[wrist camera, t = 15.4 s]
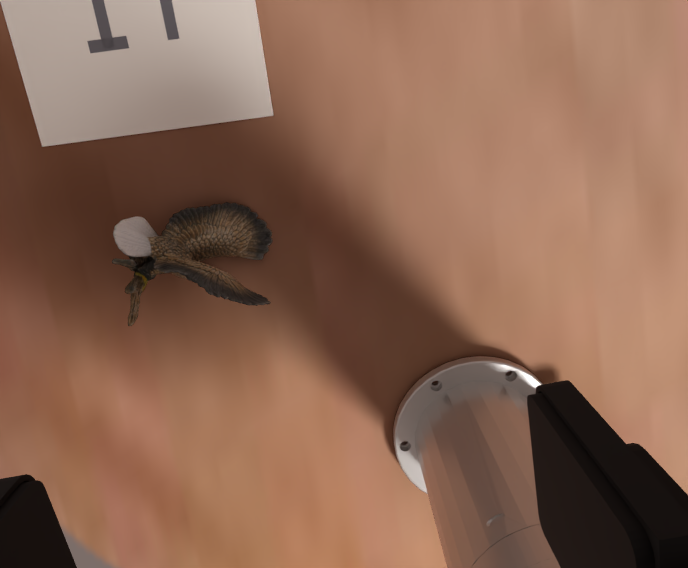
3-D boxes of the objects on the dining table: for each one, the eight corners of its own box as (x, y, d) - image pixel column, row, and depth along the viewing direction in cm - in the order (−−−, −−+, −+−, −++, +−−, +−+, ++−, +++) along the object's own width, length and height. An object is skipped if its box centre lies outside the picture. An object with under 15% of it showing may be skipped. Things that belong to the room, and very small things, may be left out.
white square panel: (232, -141, 32) (232, -142, 32) (273, 115, 36) (273, 115, 36) (-30, -105, 32) (-31, -106, 32) (42, 146, 36) (42, 146, 36)
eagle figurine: (161, 335, 39) (283, 318, 37) (95, 318, 33) (239, 296, 31) (160, 232, 41) (276, 211, 39) (97, 196, 34) (233, 169, 33)
